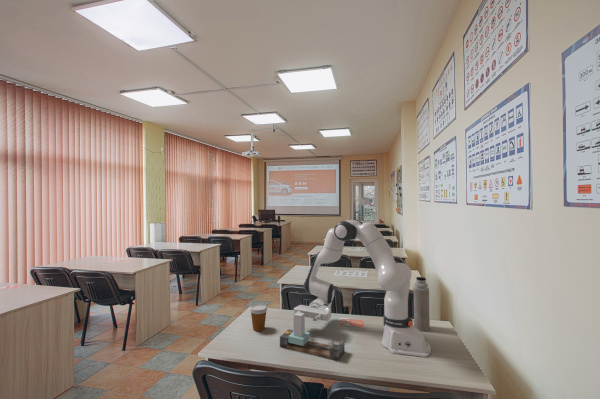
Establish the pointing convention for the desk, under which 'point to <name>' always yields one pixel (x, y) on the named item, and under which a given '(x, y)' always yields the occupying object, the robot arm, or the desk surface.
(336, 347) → the rail
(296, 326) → the block
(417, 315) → the thermos bottle
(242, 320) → the desk surface
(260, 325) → the disposable coffee cup
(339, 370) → the desk surface
